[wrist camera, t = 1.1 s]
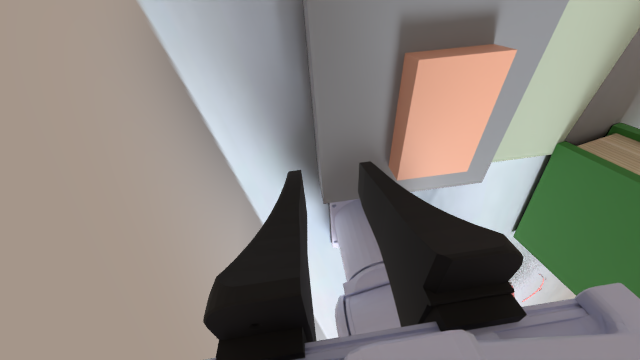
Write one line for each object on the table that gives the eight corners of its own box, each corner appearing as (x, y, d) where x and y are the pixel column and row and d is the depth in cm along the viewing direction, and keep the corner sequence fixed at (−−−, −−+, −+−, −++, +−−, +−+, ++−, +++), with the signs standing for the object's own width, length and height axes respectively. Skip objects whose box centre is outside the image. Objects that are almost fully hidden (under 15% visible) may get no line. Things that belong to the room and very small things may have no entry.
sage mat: (551, 151, 27) (555, 153, 27) (461, 163, 27) (463, 165, 26) (683, -51, 17) (692, -52, 16) (538, -39, 16) (544, -39, 16)
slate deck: (458, 160, 26) (481, 182, 23) (318, 178, 26) (323, 203, 23) (528, -28, 16) (585, -33, 13) (301, -9, 16) (306, -9, 12)
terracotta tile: (453, 158, 21) (467, 171, 19) (388, 166, 21) (397, 180, 19) (493, 43, 15) (517, 49, 14) (404, 52, 15) (418, 59, 13)
